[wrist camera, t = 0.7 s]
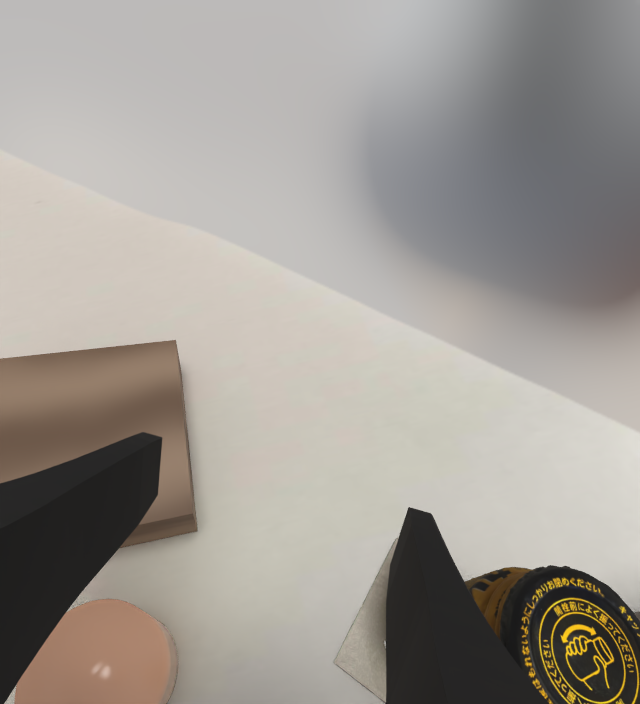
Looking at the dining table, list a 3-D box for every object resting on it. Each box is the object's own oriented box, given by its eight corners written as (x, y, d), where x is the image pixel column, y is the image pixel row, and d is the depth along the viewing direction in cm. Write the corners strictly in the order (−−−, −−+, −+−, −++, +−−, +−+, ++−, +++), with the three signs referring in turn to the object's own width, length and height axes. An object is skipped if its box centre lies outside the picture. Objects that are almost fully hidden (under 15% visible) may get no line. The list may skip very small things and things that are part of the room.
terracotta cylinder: (125, 769, 20) (89, 802, 15) (41, 697, 21) (-19, 707, 16) (199, 651, 22) (189, 646, 18) (122, 593, 23) (92, 573, 19)
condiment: (482, 778, 21) (687, 871, 12) (332, 662, 23) (403, 658, 13) (524, 628, 25) (703, 604, 16) (395, 538, 27) (483, 467, 17)
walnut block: (197, 532, 26) (192, 513, 23) (-23, 581, 23) (-65, 567, 20) (181, 373, 32) (175, 340, 28) (3, 395, 29) (-26, 361, 26)
